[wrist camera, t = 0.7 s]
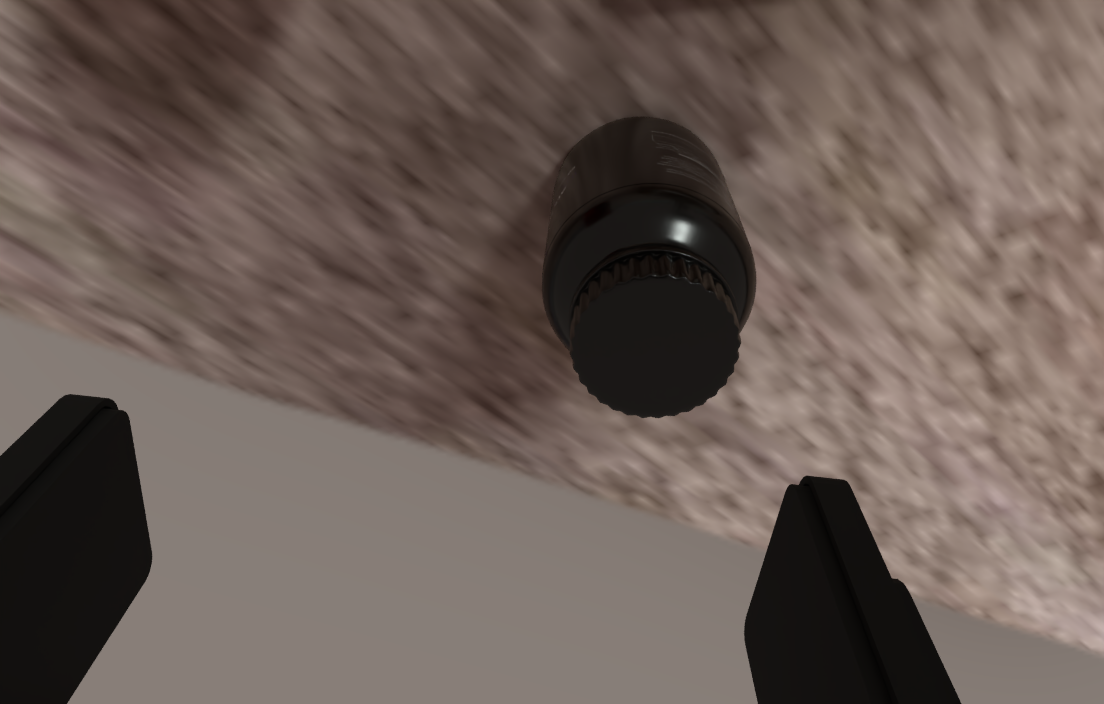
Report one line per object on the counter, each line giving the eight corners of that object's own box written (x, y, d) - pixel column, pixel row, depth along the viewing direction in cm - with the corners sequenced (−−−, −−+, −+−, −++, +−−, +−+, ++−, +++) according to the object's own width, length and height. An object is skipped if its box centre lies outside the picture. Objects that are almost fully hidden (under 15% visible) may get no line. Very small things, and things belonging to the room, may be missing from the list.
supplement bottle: (523, 157, 33) (488, 291, 22) (685, 81, 31) (730, 189, 20) (595, 299, 36) (594, 475, 25) (747, 237, 34) (813, 399, 23)
